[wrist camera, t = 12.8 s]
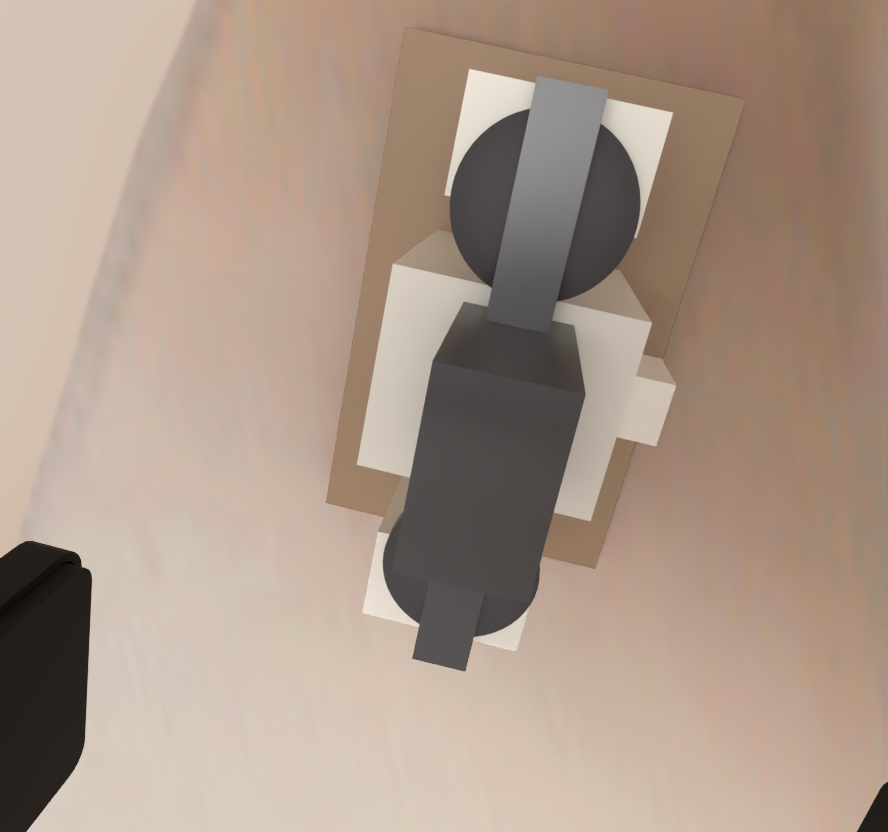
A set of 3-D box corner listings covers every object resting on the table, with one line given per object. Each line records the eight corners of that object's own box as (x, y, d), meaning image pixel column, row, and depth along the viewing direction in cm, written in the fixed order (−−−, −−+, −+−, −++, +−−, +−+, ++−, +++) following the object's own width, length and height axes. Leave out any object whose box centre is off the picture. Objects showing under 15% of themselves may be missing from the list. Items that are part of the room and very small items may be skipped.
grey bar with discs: (665, 107, 18) (720, 88, 12) (516, 649, 24) (508, 806, 18) (477, 69, 18) (446, 34, 13) (374, 615, 24) (322, 759, 18)
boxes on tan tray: (735, 102, 27) (843, 75, 17) (592, 551, 34) (612, 716, 24) (411, 32, 28) (338, -31, 18) (334, 488, 34) (250, 624, 25)
